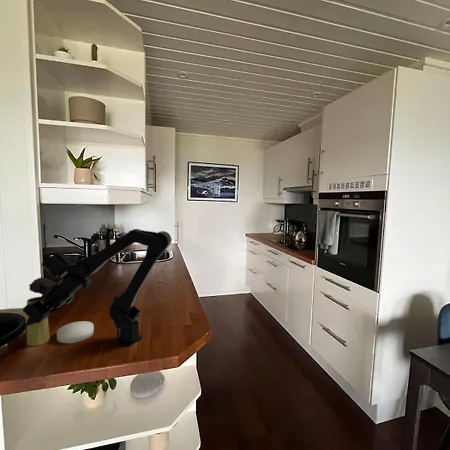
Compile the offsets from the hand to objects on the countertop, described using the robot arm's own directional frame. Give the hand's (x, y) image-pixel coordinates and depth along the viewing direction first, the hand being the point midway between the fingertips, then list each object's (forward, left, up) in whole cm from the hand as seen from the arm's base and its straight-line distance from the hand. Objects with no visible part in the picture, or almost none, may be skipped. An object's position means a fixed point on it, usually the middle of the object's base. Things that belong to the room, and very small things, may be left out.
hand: (33, 320), depth 86 cm
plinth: (-8, -9, -7) cm, 14 cm away
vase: (-1, -1, -7) cm, 7 cm away
